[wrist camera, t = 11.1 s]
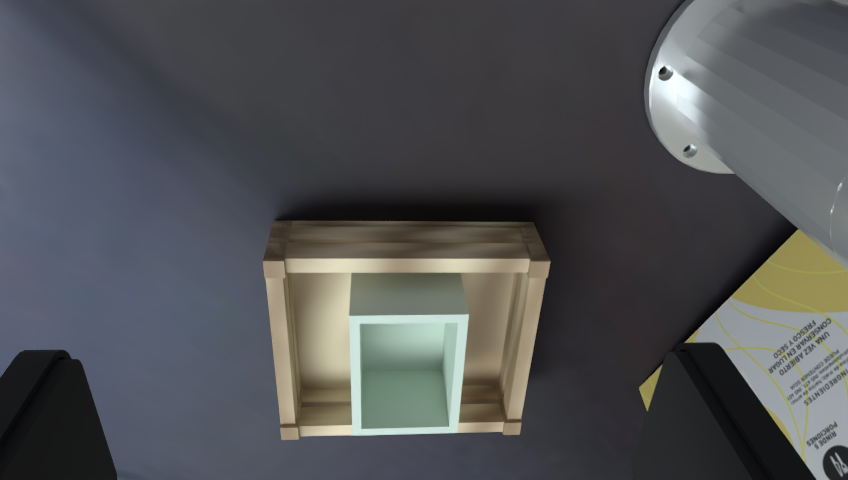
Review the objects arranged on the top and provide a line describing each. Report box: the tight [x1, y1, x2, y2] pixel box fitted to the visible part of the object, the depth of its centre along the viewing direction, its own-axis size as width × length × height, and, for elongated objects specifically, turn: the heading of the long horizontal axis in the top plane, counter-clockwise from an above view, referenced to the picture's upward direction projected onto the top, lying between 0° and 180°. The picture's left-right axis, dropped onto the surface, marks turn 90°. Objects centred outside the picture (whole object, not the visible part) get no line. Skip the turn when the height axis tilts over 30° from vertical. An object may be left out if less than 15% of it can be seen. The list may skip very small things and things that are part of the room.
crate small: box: [349, 273, 469, 436], centre depth 42 cm, size 7×10×6 cm
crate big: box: [263, 220, 551, 440], centre depth 43 cm, size 17×15×5 cm
